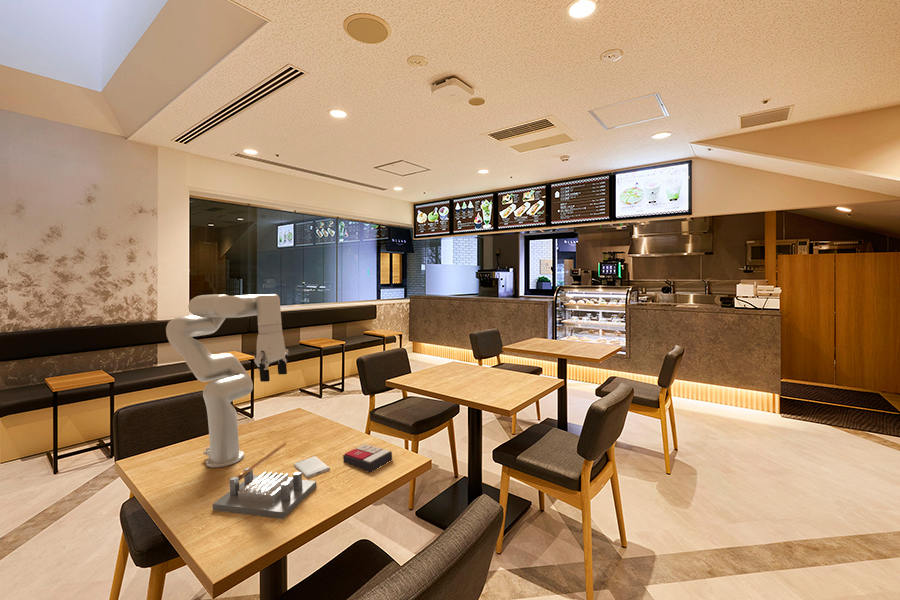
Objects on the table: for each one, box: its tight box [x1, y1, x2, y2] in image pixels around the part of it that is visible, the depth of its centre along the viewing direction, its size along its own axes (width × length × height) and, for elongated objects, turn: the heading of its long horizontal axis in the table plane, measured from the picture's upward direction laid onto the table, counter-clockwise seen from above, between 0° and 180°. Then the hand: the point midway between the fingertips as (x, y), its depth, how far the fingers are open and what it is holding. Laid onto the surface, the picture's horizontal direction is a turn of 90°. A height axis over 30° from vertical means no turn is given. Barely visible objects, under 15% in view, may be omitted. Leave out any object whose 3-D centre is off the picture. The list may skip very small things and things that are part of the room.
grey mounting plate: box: [212, 474, 318, 520], centre depth 120 cm, size 24×17×2 cm
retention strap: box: [235, 442, 288, 481], centre depth 120 cm, size 20×4×2 cm
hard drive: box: [293, 455, 331, 479], centre depth 139 cm, size 2×8×12 cm
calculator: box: [342, 443, 393, 473], centre depth 143 cm, size 11×4×15 cm
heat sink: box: [228, 466, 303, 503], centre depth 120 cm, size 20×10×5 cm, turn 77°
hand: (274, 377), depth 135 cm, fingers open, 9 cm apart
